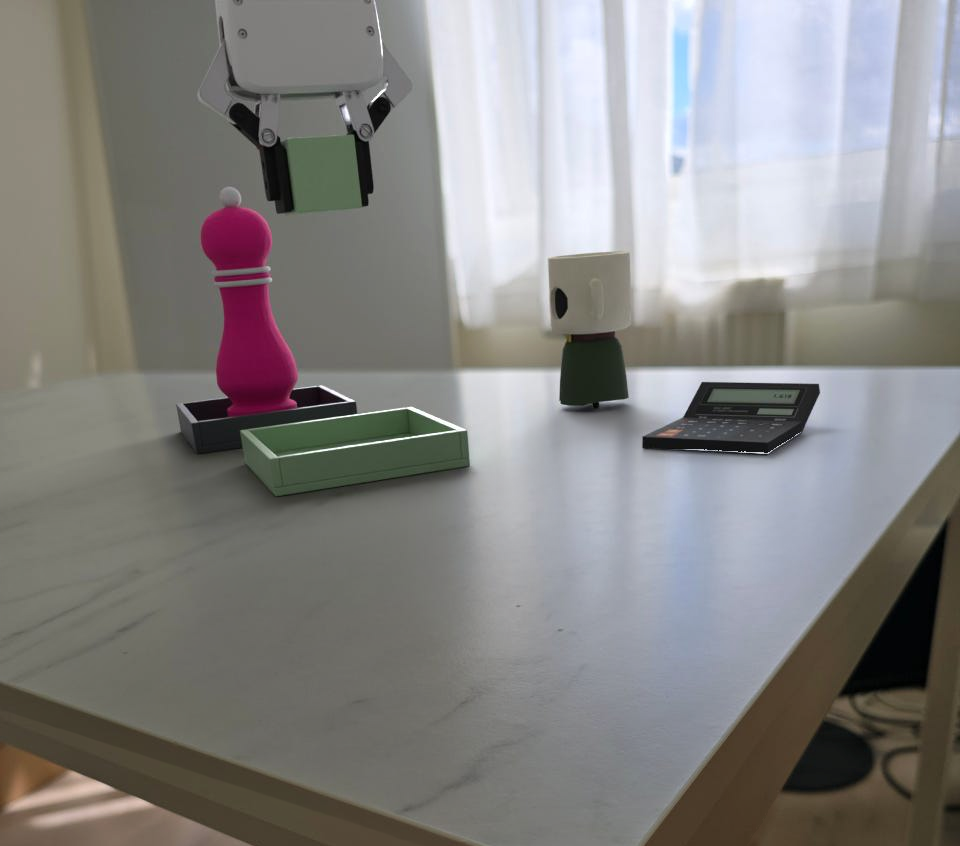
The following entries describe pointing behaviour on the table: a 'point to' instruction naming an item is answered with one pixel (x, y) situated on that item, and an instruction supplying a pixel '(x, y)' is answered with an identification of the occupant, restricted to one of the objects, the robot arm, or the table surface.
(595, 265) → the character mug
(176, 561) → the table surface
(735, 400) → the calculator
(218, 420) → the dark tray
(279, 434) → the sage tray
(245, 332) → the pepper mill
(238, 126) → the robot arm
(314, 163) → the sage block
